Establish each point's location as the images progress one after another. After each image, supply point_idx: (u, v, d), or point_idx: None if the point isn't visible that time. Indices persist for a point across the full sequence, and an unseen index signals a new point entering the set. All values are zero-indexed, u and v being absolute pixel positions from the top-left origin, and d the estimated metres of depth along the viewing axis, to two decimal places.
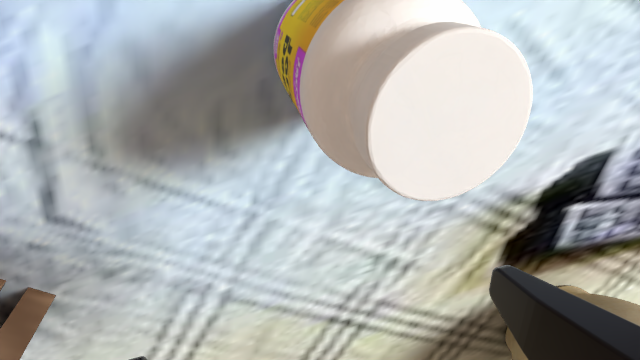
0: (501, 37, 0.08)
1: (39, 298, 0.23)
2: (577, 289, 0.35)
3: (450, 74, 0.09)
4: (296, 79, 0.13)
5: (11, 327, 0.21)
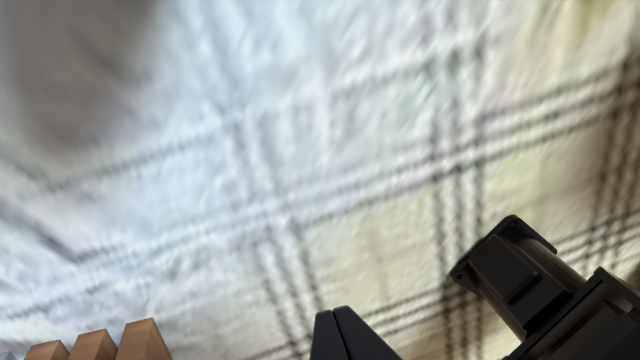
0: None
1: (138, 327, 0.22)
2: None
3: None
4: None
5: None
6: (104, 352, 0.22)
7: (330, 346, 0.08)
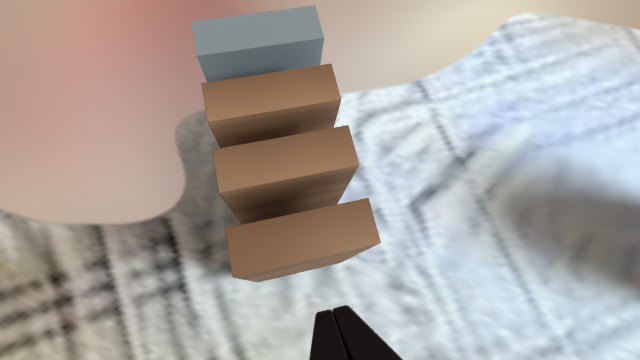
0: None
1: None
2: None
3: None
4: None
5: None
6: None
7: (330, 346, 0.08)
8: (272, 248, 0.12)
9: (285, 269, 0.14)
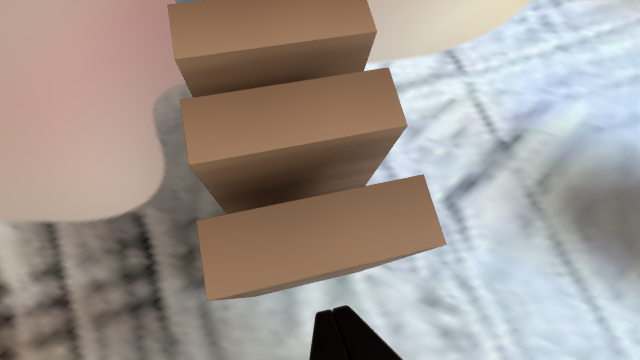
0: None
1: None
2: None
3: None
4: None
5: None
6: None
7: (330, 346, 0.08)
8: (272, 253, 0.07)
9: (292, 284, 0.10)
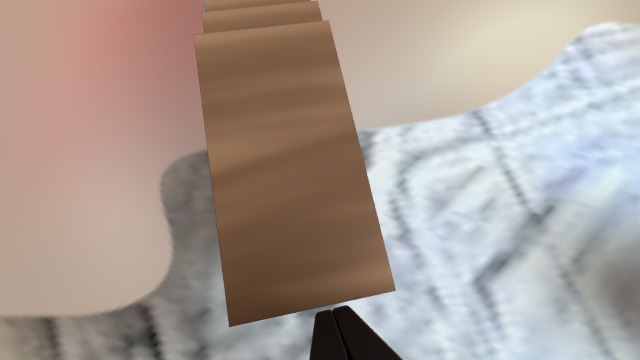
0: None
1: None
2: None
3: None
4: None
5: None
6: None
7: (330, 346, 0.08)
8: None
9: (252, 98, 0.12)
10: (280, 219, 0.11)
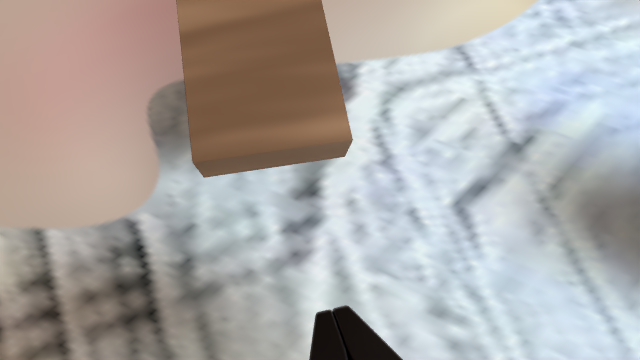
0: None
1: None
2: None
3: None
4: None
5: None
6: None
7: (330, 346, 0.08)
8: None
9: None
10: (245, 74, 0.12)
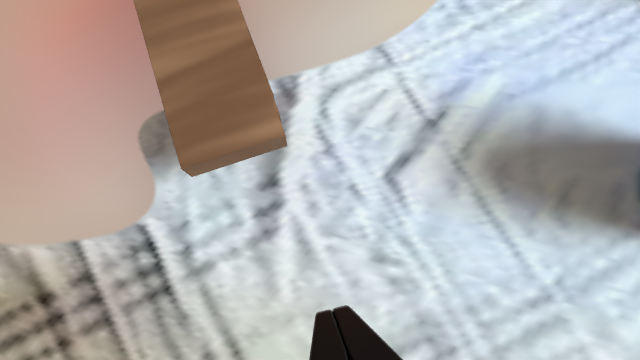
0: None
1: None
2: None
3: None
4: None
5: None
6: None
7: (330, 346, 0.08)
8: None
9: (177, 28, 0.18)
10: (205, 102, 0.17)
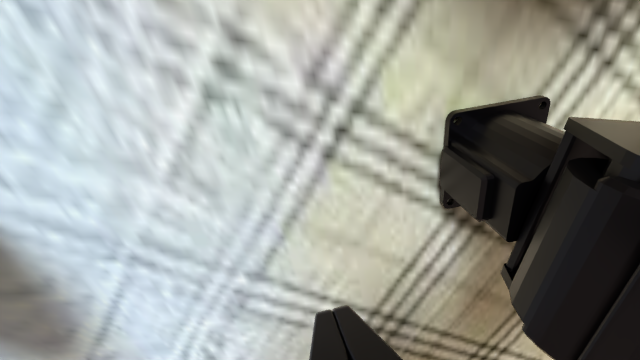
0: None
1: None
2: None
3: None
4: None
5: None
6: None
7: (330, 346, 0.08)
8: None
9: None
10: None
